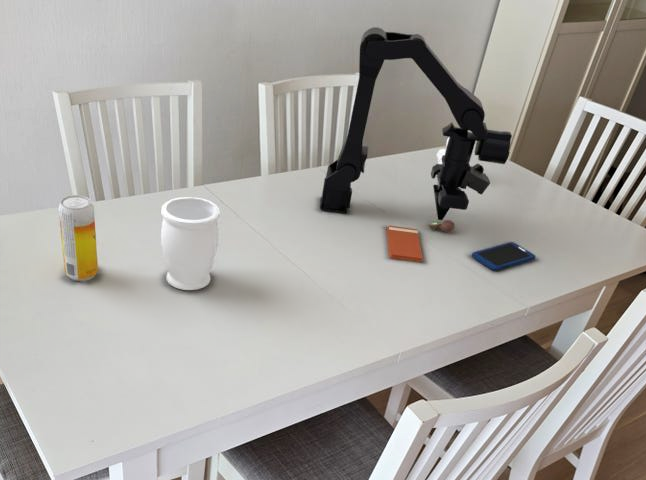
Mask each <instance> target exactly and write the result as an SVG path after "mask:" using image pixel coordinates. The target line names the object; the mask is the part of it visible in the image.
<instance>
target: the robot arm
mask: <svg viewBox="0 0 646 480" xmlns="http://www.w3.org/2000/svg"><path fill="white" fill-rule="evenodd" d="M401 59H402V60H404V59H411V60H412V61H414V63H415V64H416V65H417V67H418V68H419V69H420V70H421V71H422V73H423V74H424V75H425V76H426V78H427V79H428V80H429V81H430V83H431V84H432V85H433V86H434V87H435V88H436V90H437V91H438V92H439V93H440V95H441V96H442V97H443V98H444V100H445V102H446V103H447V106H448V108H449V110H450V112H451V114H452V116H453V118H454V120H455V121H456V123H457V125H458V127H457V126H455V124H454V122H450V123H449V124H447V125H446V126H444V127H442V129H441V132H442V136H444V137H448V138H449V141H448V145H447V148H446V147H445V149H446V152H445V155H443V156H442V159H441V160H442V164H438V163H436V164H434V165H433V166H432V168H431V172H430V176H431V179H433V180H435V178H436V179H437V184H433V185H432V188H433V195H434V202H435V209H436V216H437V220H438V221H444V219H445V217H446V215H447V214H448V212H449V211H450V210H451V209H454V210H461V211H466V210H467V209H468V206H469V203H470V200H469V198H468V195H467V193H466V191H465V190H466V189H467V188H469V189H471V190H472V191H475V192H477V194H479V195H483V194H484V192H486V190H487V188H488V187H489V186H490V184H491V181H490V179H489V177H488V176H487V174H486V173H485V172H484V171H485V168H484V166H483V164H480V163H476V164H474V165H472V166H470V164H469V162H470V163H471V158H472V154H473V151H474V156H478V157H477V160H478V161H479V162H487V163H493V164H500V165H505V164H506V162H507V161H508V158H509V156H510V149H511V140H512V137H513V135H512V133H511V132H510V131H507V130H506V131H500V130H494V129H493V130H492V129H488V127H487V124H486V122H484V121H485V116H486V114H485V109H484V106H483V104H482V103H483V102H482V101H481V100H480V99H479V97H477V96H476V95H475V94H474V93H472V92H471V91H470V90H469V89H467V88H466V87H464V86H463V85H462V84H460V83H459V82H458V81H457V79H456V78H455V77H454V76H453V74H452V73H451V72H450V71H449V69H447V67H446V66H445V65H444V64H443V62H442V61H441V60H440V58H439V57H438V56H437V55H436V54H435V52H434V51H433V49H431V47H430V45H428V43H427V41H426V39H425V38H424V36H423V35H421V34H418V33H415V34H413V33H412V34H410V33H409V34H407V33H403V32H395V31H386V30H384V29H383V28H380V27H378V26H377V27H374V26H373V27H370V28H368V29H367V30H366V31H364V32H363V34H362V36H361V40H360V45H359V60H358V61H359V62H358V63H359V64H358V65H359V66H358V67H359V69H358V76H359V77H358V81H357V86H356V92H355V96H354V101H353V106H352V112H351V116H350V122H349V127H348V131H347V135H346V138H345V140H344V142H343V144H342V147H341V150H340V152H339V155H338V157H337V159H335V161H333V162H332V163H330V164H329V165H328V166H327V170H326V174H325V177H324V179H323V186H322V192H321V197H320V201H319V202H320V203H319V210H320V211H326V212H333V213H338V214H339V213H341V214H347V213H348V209H350V206H351V201H352V195H353V188H352V183H354V182H355V181H357V180H359V178H360V177H361V174H364V173H365V168H366V161H367V159H368V154H369V146H364V144H363V143H364V141H363V140H364V136H365V131H366V127H367V123H368V118H369V113H370V108H371V104H372V99H373V94H374V90H375V86H376V80H377V79H378V77H379V75H380V71H381V70H382V68H383V65H384V63H385V60H386V61H394V60H401ZM474 147H475V148H474Z"/></svg>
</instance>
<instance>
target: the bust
mask: <svg viewBox="0 0 646 480" xmlns="http://www.w3.org/2000/svg"><path fill="white" fill-rule="evenodd" d="M448 141H449V137H448V138H447V139H446V143H445V148H440V149H438V151H437V153H436V159H437V164H442V160H441V159H442V156H443V155H445V152H446V148H447V145H448ZM469 164H470V166H472V167H473V164H472V162H471V161H470V162H469Z"/></svg>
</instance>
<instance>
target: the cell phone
mask: <svg viewBox="0 0 646 480" xmlns="http://www.w3.org/2000/svg"><path fill="white" fill-rule="evenodd" d="M471 257H472V258H473V259H475V260H476V261H478V262H480V263H481V264H483V266H485V267H487V268H489V269H491V270H492V271H496V272H497V271H500V270H503V269H507V268H509V267H513V266H517V265H520V264H523V263H527V262H529V261H533V260H535V259H536V254H534V253H533V252H531V251H529V250H527V248H524V247H522V246H521V245H519V244H517V243H516V242H514V241H509V242H505V243H501V244H498V245H494V246H491V247H487V248H484V249H481V250H480V249H479V250H477V251H473V252H472V253H471Z"/></svg>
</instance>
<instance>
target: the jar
mask: <svg viewBox="0 0 646 480" xmlns="http://www.w3.org/2000/svg"><path fill="white" fill-rule="evenodd" d="M160 213H161V216H162V218H163V219H162V224H161V231H160V243H161V244H160V245H161V251H162V256H163V261H164V265H165V268H166V271H167V273H166V277H165V278H166V281H167V282H168V284H169V285H170V286H172V287H173V288H176V289H179V290H183V291H197V290H201V289H203V288H205V287H207V286H208V285H209V284H210V282H211V274H210V272H211V271H212V268H213V266H214V264H215V258H216V255H217V251H218V246H219V224H218V220H219V218H220V213H221V212H220V209H219V206H217V205H216V204H215V203H214V202H212V201H210V200H208V199H204V198H201V197H194V196H183V197H182V196H181V197H175V198H171V199H169V200H167V201H165V202H164V203H162V205H161V208H160Z"/></svg>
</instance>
